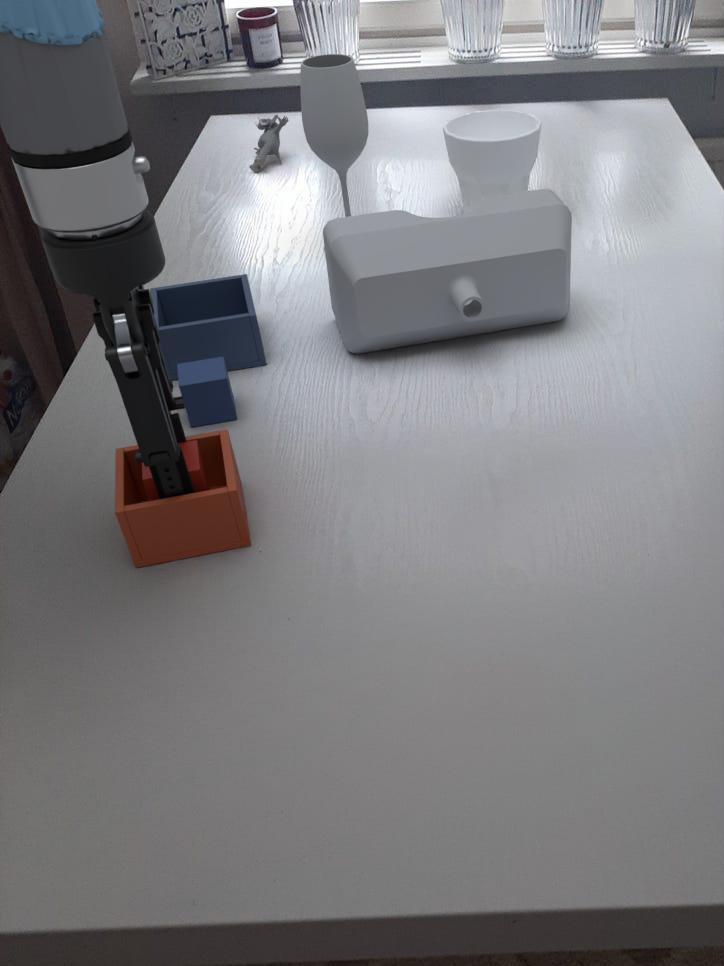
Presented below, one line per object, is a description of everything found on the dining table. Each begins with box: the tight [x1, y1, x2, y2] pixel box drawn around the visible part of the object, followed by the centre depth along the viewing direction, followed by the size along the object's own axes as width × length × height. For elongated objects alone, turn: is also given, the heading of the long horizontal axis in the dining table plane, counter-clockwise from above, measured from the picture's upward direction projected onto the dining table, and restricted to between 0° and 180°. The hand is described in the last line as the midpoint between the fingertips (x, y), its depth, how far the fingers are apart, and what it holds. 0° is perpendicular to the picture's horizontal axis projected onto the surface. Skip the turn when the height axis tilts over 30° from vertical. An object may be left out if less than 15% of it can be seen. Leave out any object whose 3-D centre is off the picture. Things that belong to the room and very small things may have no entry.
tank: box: [322, 188, 573, 354], centre depth 101 cm, size 25×16×12 cm, turn 105°
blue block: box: [177, 357, 238, 428], centre depth 94 cm, size 4×4×4 cm
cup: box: [442, 109, 542, 214], centre depth 125 cm, size 12×12×11 cm
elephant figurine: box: [249, 114, 290, 174], centre depth 146 cm, size 10×6×9 cm
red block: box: [142, 440, 210, 501], centre depth 80 cm, size 4×4×4 cm
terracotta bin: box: [114, 428, 252, 569], centre depth 81 cm, size 9×9×6 cm
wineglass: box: [299, 53, 369, 252], centre depth 116 cm, size 8×8×21 cm
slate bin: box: [149, 273, 268, 382], centre depth 103 cm, size 10×10×6 cm
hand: (183, 501), depth 81 cm, fingers closed on red block, 4 cm apart
